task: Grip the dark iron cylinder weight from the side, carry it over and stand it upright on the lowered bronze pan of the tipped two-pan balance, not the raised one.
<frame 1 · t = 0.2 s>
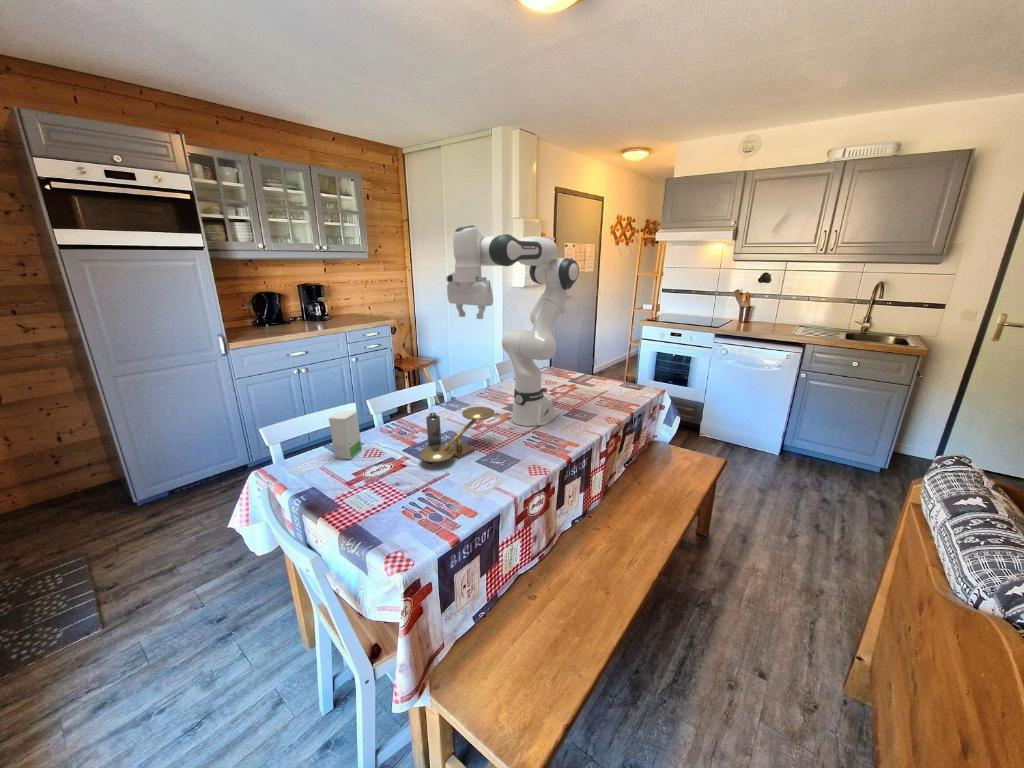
hand: (470, 317, 142), 48 cm above the table, tool pointing down, fingers open, 8 cm apart
iron weight: (434, 444, 156), on the table
balance: (459, 451, 150), on the table
skincare box: (348, 454, 149), on the table
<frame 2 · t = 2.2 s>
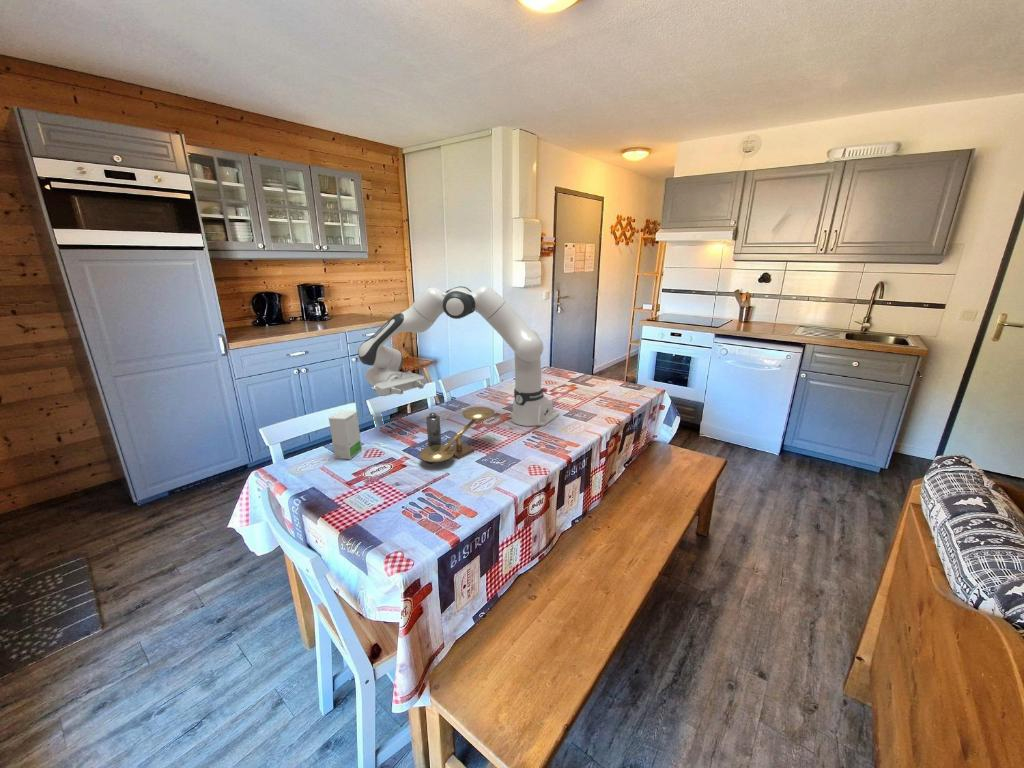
hand: (412, 389, 158), 19 cm above the table, tool horizontal, fingers open, 8 cm apart
nothing on the table moved.
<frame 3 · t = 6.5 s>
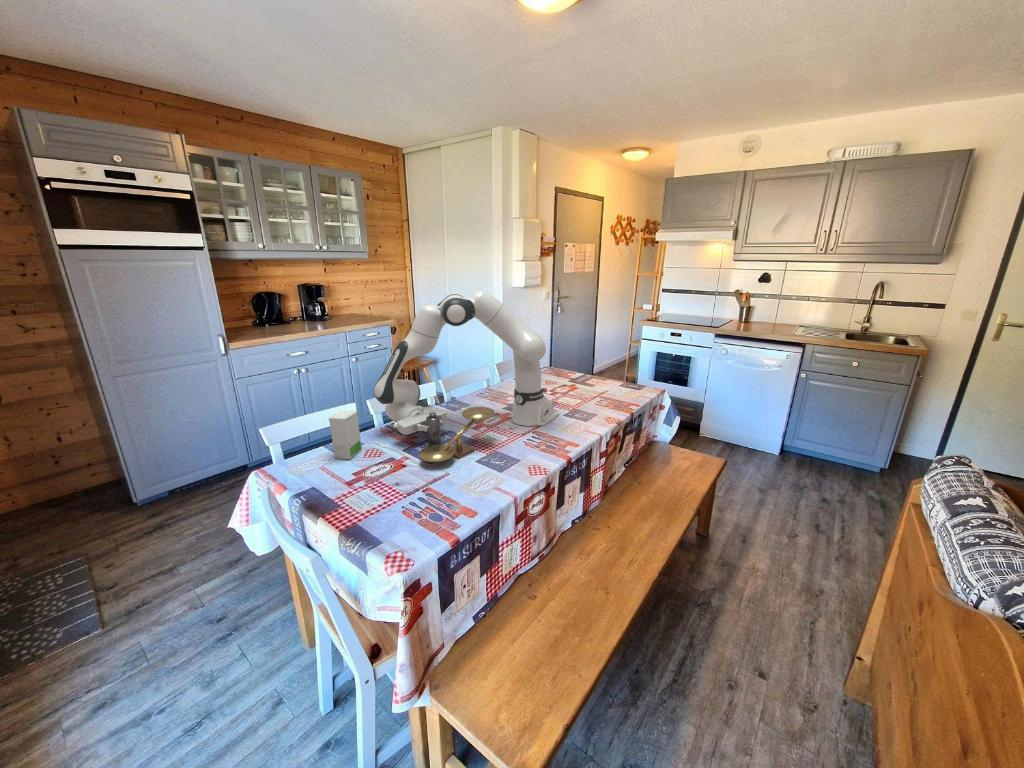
hand: (435, 426, 153), 8 cm above the table, tool horizontal, fingers closed on iron weight, 5 cm apart
iron weight: (434, 444, 156), on the table, touching gripper
everything else where it was.
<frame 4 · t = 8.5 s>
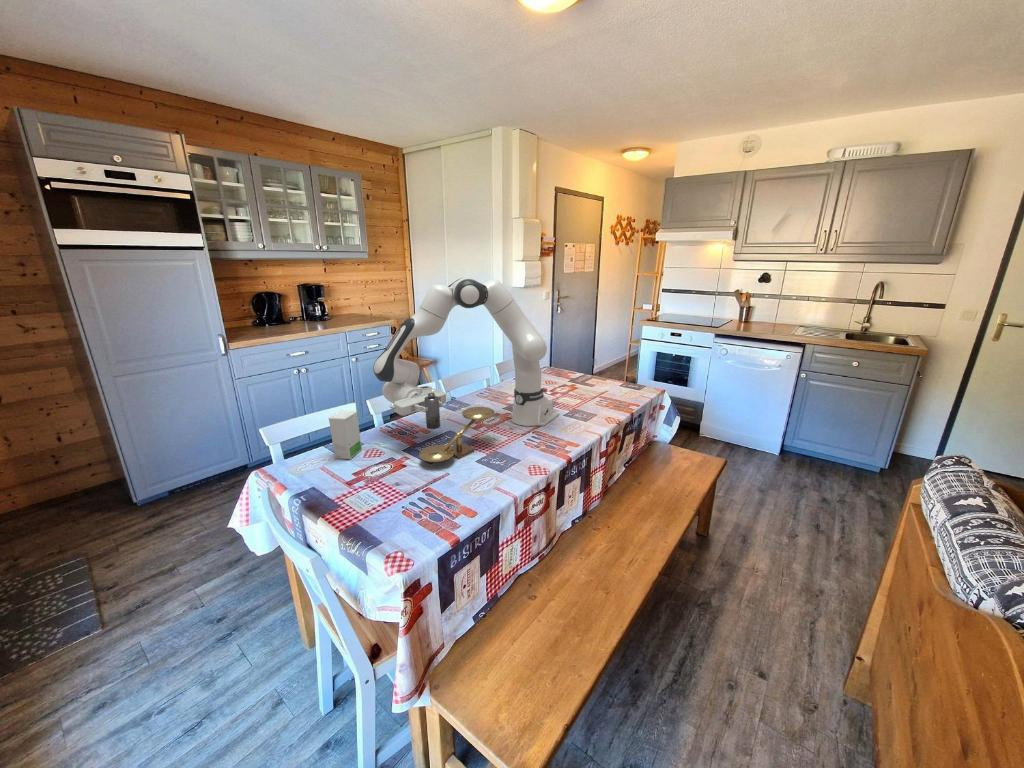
hand: (433, 407, 146), 17 cm above the table, tool horizontal, fingers closed on iron weight, 5 cm apart
iron weight: (433, 426, 149), point 9 cm above the table, touching gripper
everything else where it was.
when the fingers open (13 cm above the table, at t = 10.6 s): iron weight stays where it is, resting on balance.
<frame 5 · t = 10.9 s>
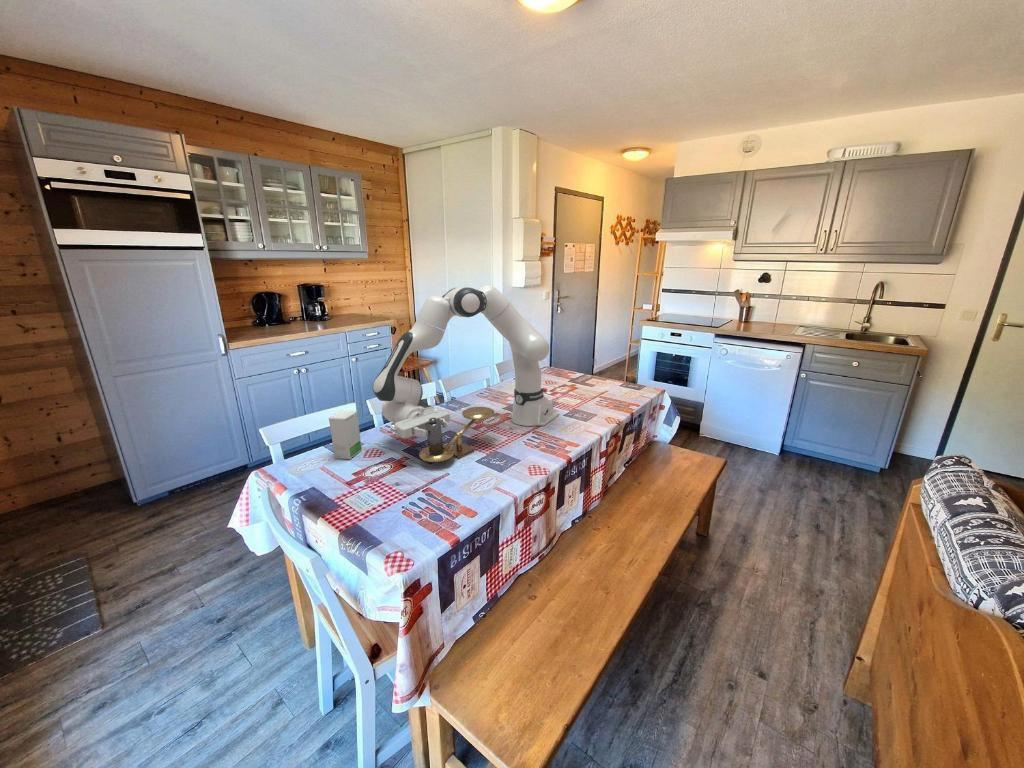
hand: (436, 429, 138), 13 cm above the table, tool horizontal, fingers open, 7 cm apart
iron weight: (436, 451, 141), point 4 cm above the table, touching balance
everything else where it was.
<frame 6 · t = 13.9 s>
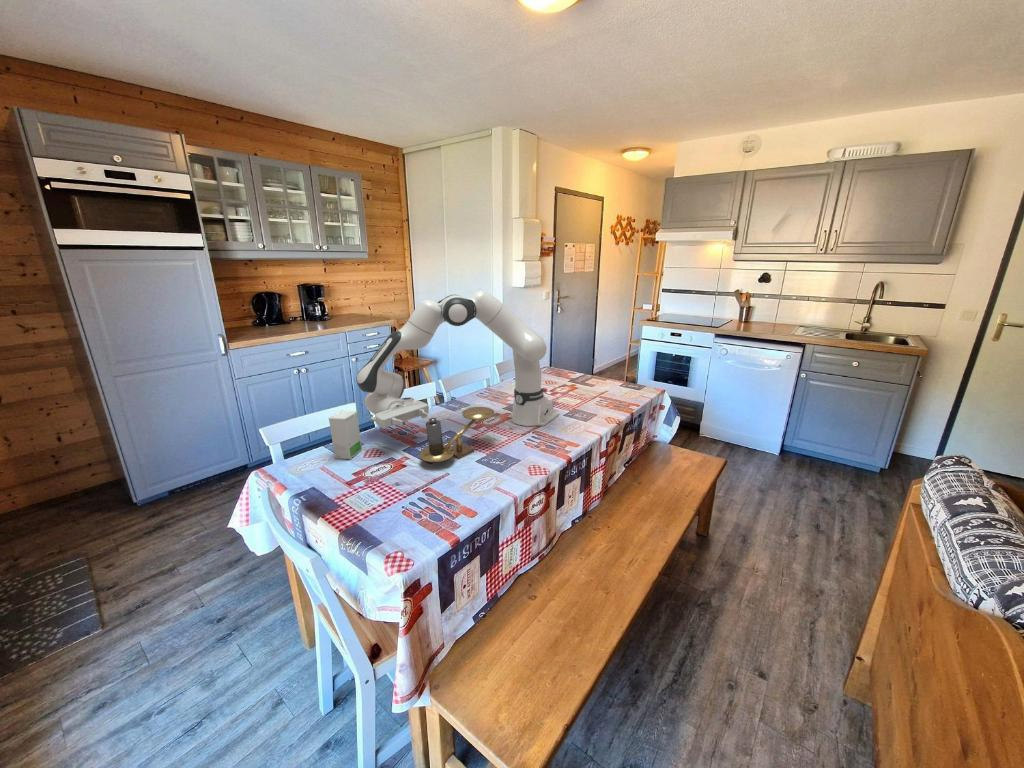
hand: (414, 419, 146), 13 cm above the table, tool horizontal, fingers open, 8 cm apart
nothing on the table moved.
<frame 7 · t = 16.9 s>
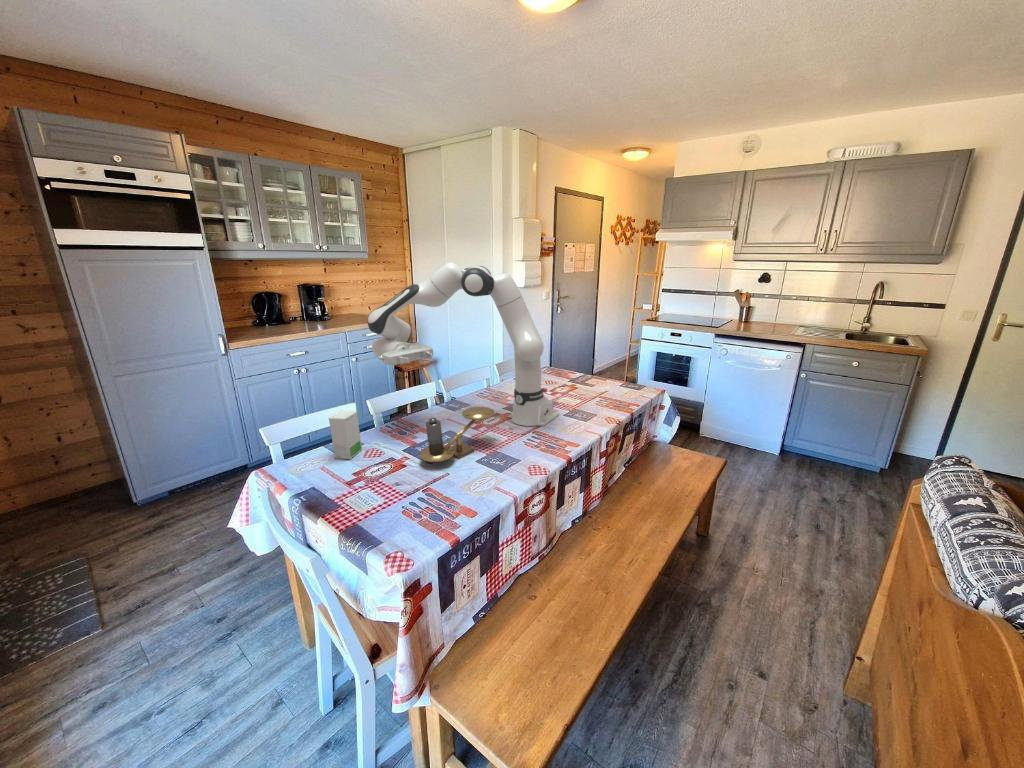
hand: (420, 358, 153), 32 cm above the table, tool horizontal, fingers open, 8 cm apart
nothing on the table moved.
at the end: iron weight inside the target area on the balance (0.0 cm from its centre), point 3.7 cm above the balance's base; iron weight tilted 3°; the gripper is holding nothing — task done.
